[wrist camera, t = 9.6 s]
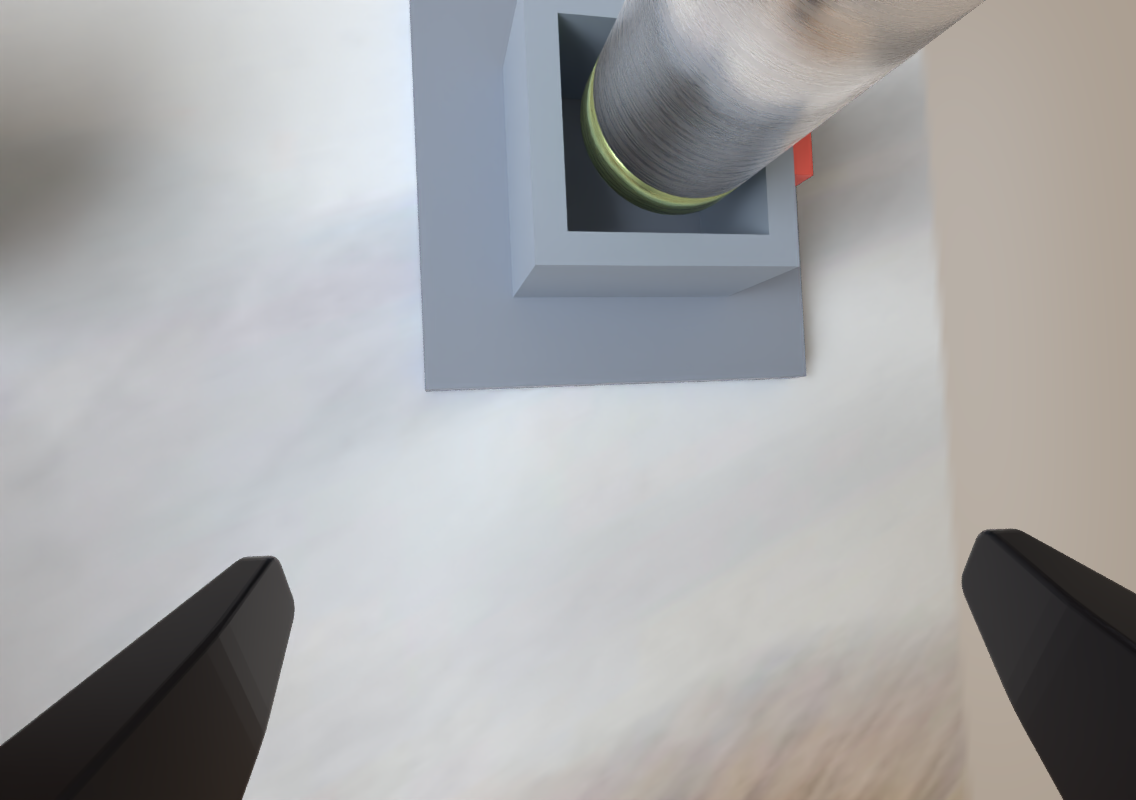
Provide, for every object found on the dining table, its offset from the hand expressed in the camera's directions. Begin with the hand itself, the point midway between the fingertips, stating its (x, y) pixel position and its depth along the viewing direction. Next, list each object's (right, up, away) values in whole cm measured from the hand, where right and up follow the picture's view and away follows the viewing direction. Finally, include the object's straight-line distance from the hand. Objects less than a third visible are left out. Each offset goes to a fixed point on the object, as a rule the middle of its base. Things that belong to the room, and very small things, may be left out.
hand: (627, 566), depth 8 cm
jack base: (+1, +9, +12) cm, 15 cm away
